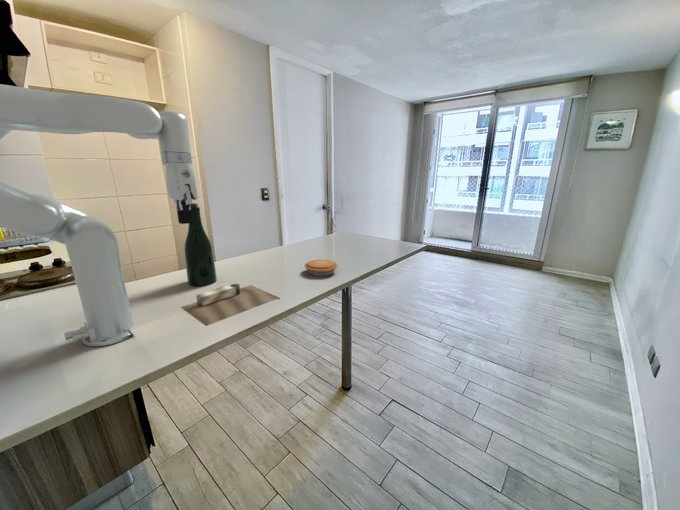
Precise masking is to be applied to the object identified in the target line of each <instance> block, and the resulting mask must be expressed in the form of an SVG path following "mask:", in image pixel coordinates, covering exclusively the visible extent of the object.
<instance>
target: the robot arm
mask: <svg viewBox="0 0 680 510" xmlns="http://www.w3.org/2000/svg"><path fill="white" fill-rule="evenodd" d="M186 117H187V116H185V115H184V114H182V113H180V112H175V111H167V110H166V111H165V110H162V111H159V112H158V111H157V109H156V108H154V107H153V106H151V105H149V104H147V103H146V102H141V101H137V100H130V99H126V98H120V97H111V96H102V95H92V94H80V93H78V94H77V93H65V92H56V91H49V90H42V89H36V88H35V89H34V88H28V87H23V86H15V85H10V84H1V83H0V140H1V139H4V137H6V135H8V134H9V133H11V132H12V131H23V132H24V131H26V132H37V133H48V134H49V133H50V134H62V135H83V134H90V133H115V134H117V133H118V134H126V135H128V136H129V137H132V138H134V139H138V140H158V142H159V150H160V158H161V162H162V165H164V166H165V176H166V188H167V193H168V197H169V198H170V199H172V200H173V203H175V209H176V210H177V211H176V212H177V213H176V214H177V219H178V223H179V224H180V225H187V224H189V223H192V219H191V211H190V210H191V206H190V205H191V204H192V203H193V200H198V197H199V195H198V190H197V182H196V178H195V174H194V170H193V161H192V153H191V143H190V135H189V127H188V119H187V118H186ZM0 227H1V228H4V229H7V230H9V231H12V232H14V233H17V234H18V235H22V236H24V237H25V236H26V237H28V238H35V239H36V238H38V239H39V238H45V239H47V240H48V239H49V240H51V241H54V242H57V243H59V244H62V245H64V246H65V247H66V248H65V249H66V252H67V255H68V258H69V262H70V265H71V268H72V274H73V276H74V281H75V284H76V288H77V292H78V295H79V299H80V303H81V306H82V311H83V314H84V318H85V322H83V325H84V326H80V327H79V329H75V330H70V331H67V332H64V333H63V336H64V338H65V341H69V340H72V342H75V341H79V340H81V339H82V342H83V344H84V345H85V346H88V347H104V346H108V345H113V344H117V343H119V342H122V341H125V340H127V339H129V338H131V337H133V336H134V334H133V333H132V332H131V329H132V328H133V327H134V321H133V315H132V311H131V308H130V307H131V306H130V302H129V298H128V292H127V287H126V282H125V277H124V273H123V269H122V263H121V258H120V249H119V244H118V240H117V236H116V235H115V233H114V232H113V230H112V228H110V227H109V225H107V224H106V223H104V222H103V221H101V220H99V219H98V218H95V217H93V216H91V215H88V214H86V213H85V212H81V211H80V210H78V209H76V208H72V207H71V206H69V205H66V204H63V203H61V202H60V201H57V200H55V199H53V198H50V197H48V196H45V195H41V194H34V193H33V194H30V193H29V192H25V191H23V190H20V189H18V188H16V187H13V186H11V185H10V184H9V185H8V184H6V183H5V182H3V181H0Z"/></svg>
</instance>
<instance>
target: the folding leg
mask: <svg viewBox="0 0 680 510" xmlns="http://www.w3.org/2000/svg"><path fill="white" fill-rule="evenodd" d="M221 287H222V286H221ZM218 288H219V287H218ZM240 288H241V287H240V283H233V284H232V283H231V284H229V285H226V286H225V287H222V288H219V289H216V288H215V289H216V290H213V289H212V290H209V291H206V292H203V293H198V294H196V295H195V296H196V297H195V298H196V302H197V304H198V305H203V306H204V305H207V304H210V303H213V302H216V301H219V300H222V299H225V298H228V297H231V296H234V295H237V294H240Z"/></svg>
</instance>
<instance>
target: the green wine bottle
mask: <svg viewBox="0 0 680 510" xmlns="http://www.w3.org/2000/svg"><path fill="white" fill-rule="evenodd" d="M190 206H191V210H190V211H191V219H192V223H188V230H187V234H186V238H185V242H184V246H183V247H184V248H183V249H184V250H183V252H184V261H185V270H186V271H185V272H186V279H187V284H188V286H189V287H193V288H199V287H200V288H201V287H206V286H211V285H214V284H215V283H216V282H217V280H218V279H217V278H218V277H217V271H216V263H215V258H214V257H215V256H214V250H213V247H212V246H213V245H212V243H211V240H210V238H209V237H208V235H207V232H206V231H205V228H204V226H203V223H202V218H201V209H200V208H201V207H200V206H199V205H198V203H196V202H192V204H191V205H190Z"/></svg>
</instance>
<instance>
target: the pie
mask: <svg viewBox="0 0 680 510" xmlns="http://www.w3.org/2000/svg"><path fill="white" fill-rule="evenodd" d="M338 266H339V264H338V263H336V262H335V261H333V260H329V259H314V260H311V261H308V262H306V263H304V268H305V269H306V270H307V272H308V274H309V275H312V276H315V277H326V276H327V275H328V276H331V275H332V274H333V273H334V272H335V270H336V269H337V268H338ZM330 274H331V275H330Z"/></svg>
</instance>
